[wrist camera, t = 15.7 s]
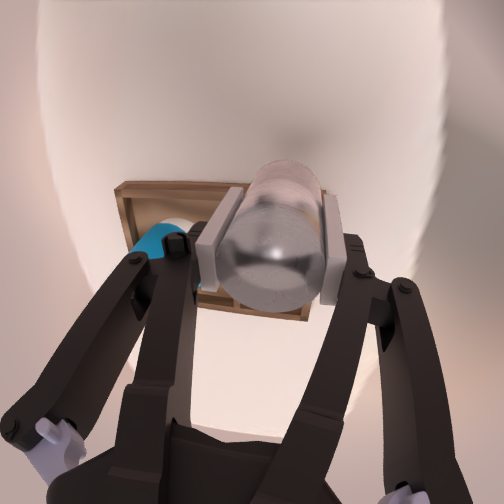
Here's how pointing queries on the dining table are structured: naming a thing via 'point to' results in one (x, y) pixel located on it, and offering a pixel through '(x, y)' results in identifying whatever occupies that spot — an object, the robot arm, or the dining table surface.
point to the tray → (185, 226)
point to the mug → (155, 240)
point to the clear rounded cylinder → (275, 241)
